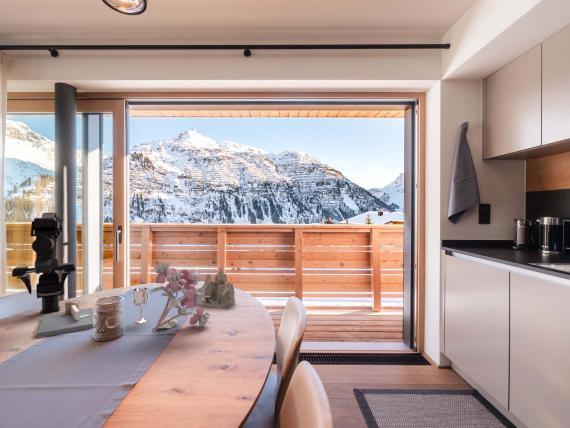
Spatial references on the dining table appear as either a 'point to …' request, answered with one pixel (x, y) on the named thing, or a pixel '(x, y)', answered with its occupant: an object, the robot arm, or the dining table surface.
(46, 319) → the dial plate
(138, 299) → the wineglass
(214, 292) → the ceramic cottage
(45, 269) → the robot arm
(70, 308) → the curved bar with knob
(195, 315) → the flower
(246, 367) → the dining table surface
